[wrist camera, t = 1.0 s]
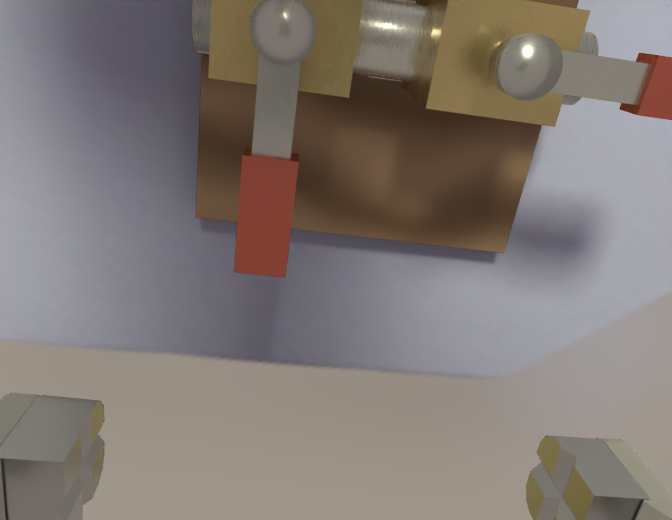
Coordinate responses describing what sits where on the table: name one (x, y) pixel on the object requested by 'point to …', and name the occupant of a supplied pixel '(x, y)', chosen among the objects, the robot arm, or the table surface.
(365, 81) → the base board
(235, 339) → the table surface
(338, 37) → the pipe manifold
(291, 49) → the valve lever
